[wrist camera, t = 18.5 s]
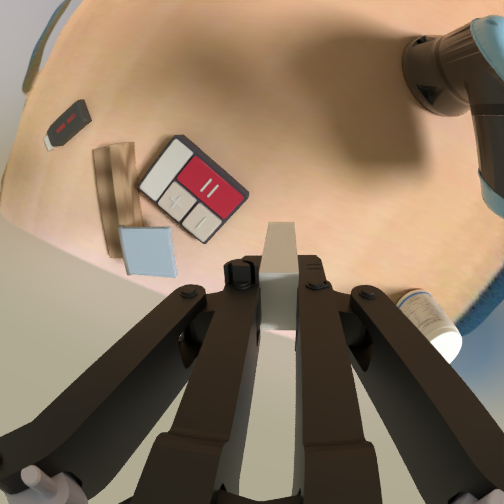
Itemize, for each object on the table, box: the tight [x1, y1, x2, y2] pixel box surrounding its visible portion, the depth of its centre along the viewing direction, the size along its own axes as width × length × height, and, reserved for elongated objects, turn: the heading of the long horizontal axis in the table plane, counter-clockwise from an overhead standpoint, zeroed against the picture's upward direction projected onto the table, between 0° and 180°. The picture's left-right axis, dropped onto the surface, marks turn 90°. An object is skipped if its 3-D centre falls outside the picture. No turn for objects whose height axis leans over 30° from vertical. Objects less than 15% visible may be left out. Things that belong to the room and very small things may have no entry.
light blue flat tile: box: [117, 226, 177, 278], centre depth 43 cm, size 8×10×1 cm
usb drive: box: [44, 100, 92, 151], centre depth 41 cm, size 5×12×3 cm, turn 114°
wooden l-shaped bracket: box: [94, 142, 143, 258], centre depth 45 cm, size 21×8×6 cm, turn 2°
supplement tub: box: [396, 289, 462, 363], centre depth 43 cm, size 10×10×15 cm
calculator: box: [138, 135, 249, 244], centre depth 44 cm, size 11×4×15 cm
